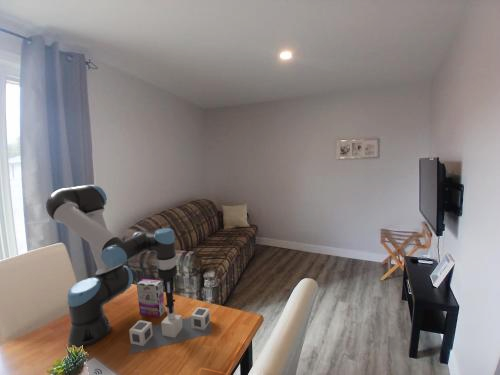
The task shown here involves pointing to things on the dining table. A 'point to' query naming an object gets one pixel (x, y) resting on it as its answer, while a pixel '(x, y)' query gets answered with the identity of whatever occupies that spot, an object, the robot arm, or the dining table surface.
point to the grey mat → (162, 340)
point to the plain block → (172, 326)
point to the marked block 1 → (141, 332)
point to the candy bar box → (151, 297)
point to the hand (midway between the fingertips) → (171, 318)
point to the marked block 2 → (200, 318)
